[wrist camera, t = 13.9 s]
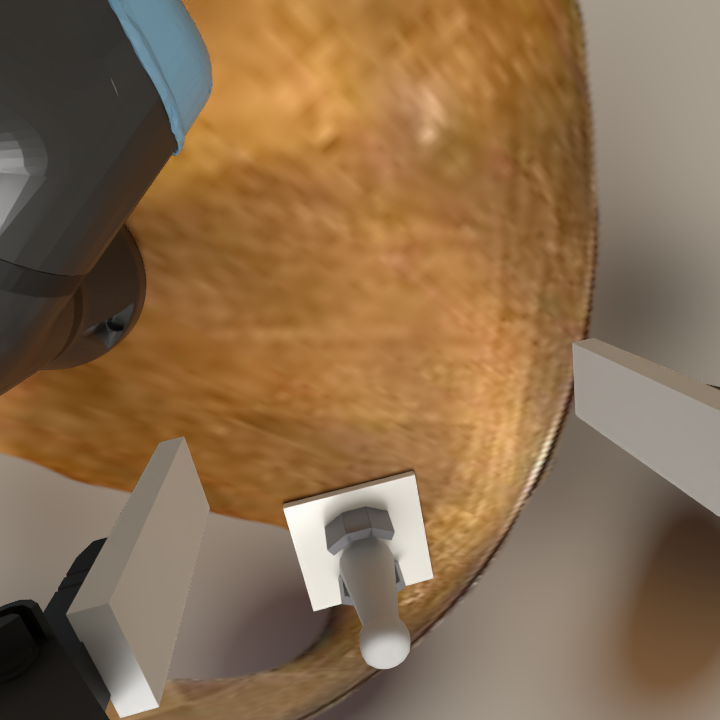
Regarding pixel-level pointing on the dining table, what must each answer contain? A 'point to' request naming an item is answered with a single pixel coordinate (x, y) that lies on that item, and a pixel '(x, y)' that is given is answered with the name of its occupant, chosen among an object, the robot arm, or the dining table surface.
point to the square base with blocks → (358, 533)
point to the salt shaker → (375, 601)
